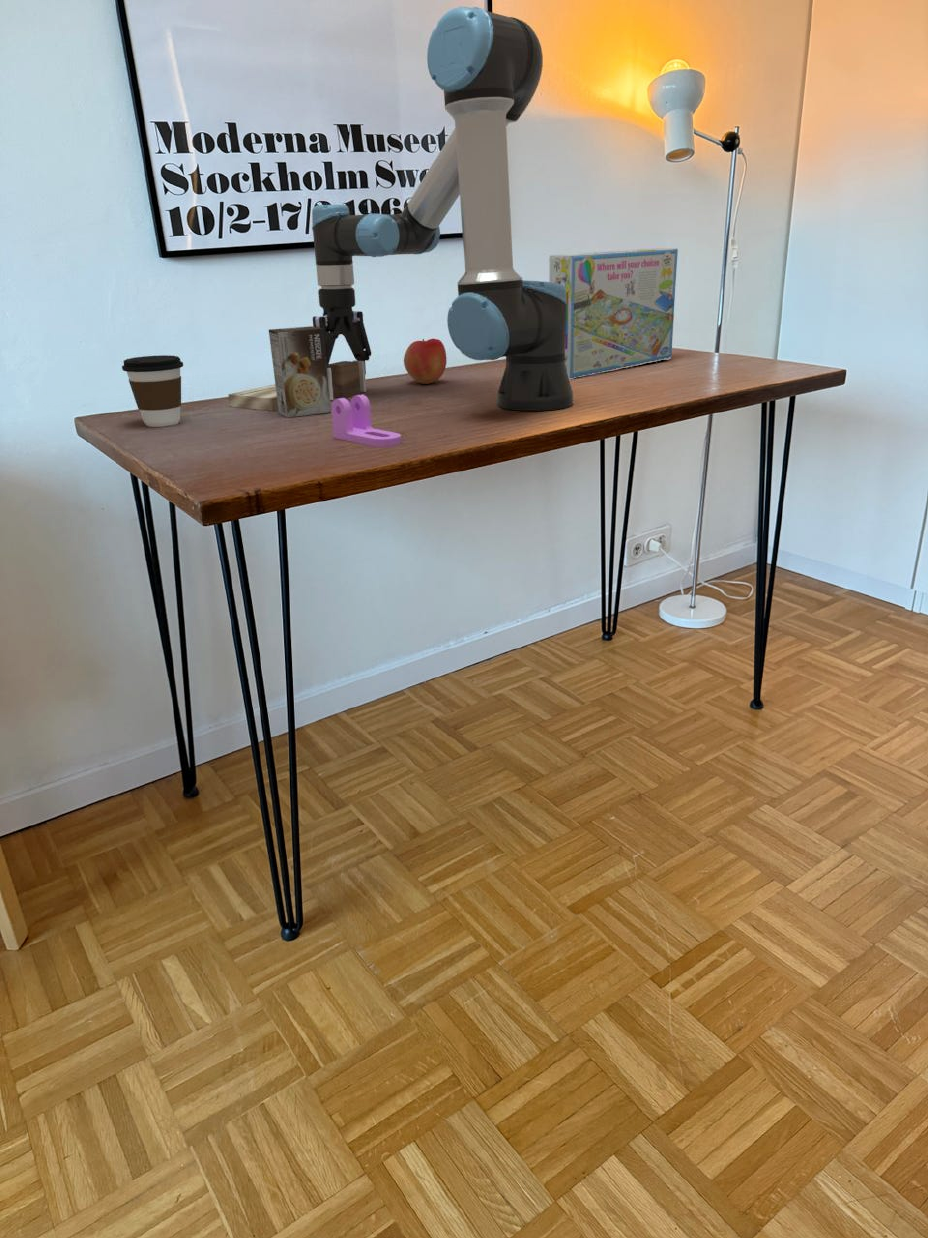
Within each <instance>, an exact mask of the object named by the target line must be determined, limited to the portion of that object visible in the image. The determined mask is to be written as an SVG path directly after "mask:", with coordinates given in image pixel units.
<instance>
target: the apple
mask: <svg viewBox="0 0 928 1238" xmlns="http://www.w3.org/2000/svg"><path fill="white" fill-rule="evenodd" d="M403 364H404V368H405V371H406V373H407V375H409V376H410V378H412V379H413V380H414V381H416V382H417V383H418V384H422V385H429V384H433V383H435V382H437V381H438V380H439V379H441V377H442V375H443V374H444V372H445V370H446V367H447V352H446V348H445V346H444V344H443V342H442V340H440V339H437V338H430V339H427V340H425V339H424V338H422V340H416V341H413V342H411V343H410V344H409V346H408V347H407V348H406V350H405V353H404V357H403Z"/></svg>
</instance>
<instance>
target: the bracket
mask: <svg viewBox="0 0 928 1238" xmlns="http://www.w3.org/2000/svg"><path fill="white" fill-rule="evenodd" d="M330 406H331V420H332V432H333V439H335V440H336V439H337V440H341V441H347V442H350V443H357V444H361V445H364V446H370V447H375V448H390V447H396V446H399V445H401V444H402V435H401V434H400V433H398V432H393V431H389V430H384V429H377V428H374V427H373V426H372V425H373V423H372V412H371V411H372V410H371V409H372V408H371V401H370V400H369V398H368V396H366V395H365V394H361V395H356V396H353V397H351V399H350V401H349V400H348V398H346V399H345V398H340V399H335V398H334V399H333V400H332V402H331V405H330Z"/></svg>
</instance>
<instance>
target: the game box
mask: <svg viewBox="0 0 928 1238" xmlns="http://www.w3.org/2000/svg"><path fill="white" fill-rule="evenodd" d="M678 251H679V250H678V248H677V247H669V248H668V247H666V248H665V247H664V248H663V247H662V248H661V247H660V248H659V247H658V248H646V249H645V248H640V249H628V250H627V249H626V250H625V249H624V250H611V251H610V250H609V251H596V252H595V251H594V252H581V253H579V252H578V253H570V254H569V253H568V254H567V253H566V254H553V255H549V282H553V283H558V284H561V285H563V286H564V288H565V290H566V302H567V308H566V336H565V367H566V371H567V374H568V377H569V378H574V377H578V376H582V375H588V374H592V373H598V372H602V371H607V370H612V369H616V368H621V367H626V366H631V365H636V364H640V363H644V362H649V361H655V360H659V359H664V358H669V357H671V358H672V353H673V337H674V336H673V335H674V334H673V332H674V317H675V299H676V285H677V284H676V282H677V268H678V267H677V265H678Z"/></svg>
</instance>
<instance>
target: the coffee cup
mask: <svg viewBox="0 0 928 1238" xmlns="http://www.w3.org/2000/svg"><path fill="white" fill-rule="evenodd" d="M182 367H184V362H183V361H181V358H180V357H179V356H177V355H167V354H166V355H147V356H145V355H144V356H138V357H136V356H135V357H131V358H130V357H129V358H127V359H124V360H123V365H121V370H122V371H123V372H126V374H127V376H128V377H127V378H128V383H129V386H130V389H131V391H132V395H133V397H134V400H135V403H136V406H137V409H138V410H139V412H140V415H141V418H142V421H143V422H144V424H145V426H146V427H150V428H160V427H161V428H162V427H163V428H164V427H169V426H170V427H171V426H175V425H178V424H180V420H181V406H182V376H181V368H182Z"/></svg>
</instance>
